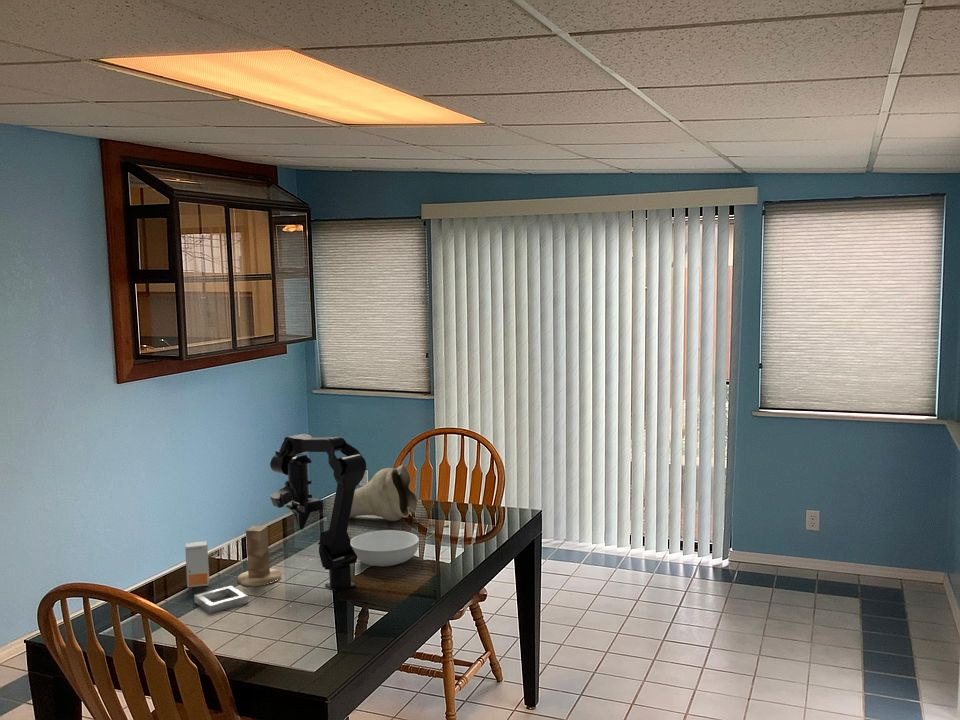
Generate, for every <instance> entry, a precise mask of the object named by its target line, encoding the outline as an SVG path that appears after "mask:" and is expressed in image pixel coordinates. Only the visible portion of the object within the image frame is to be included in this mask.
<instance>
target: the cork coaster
mask: <svg viewBox="0 0 960 720" xmlns="http://www.w3.org/2000/svg"><path fill="white" fill-rule="evenodd" d="M280 576H281V571H280V570H278V569H276V568H270V573H269V574H268V575H267V576H266V577H264V578H249V576H248V570H247V571H244V572H242V573H240V574H239V575H238V577H237V580H238V583H239V584H240V585H242V586H244V587H245V586H246V587H259V586H258V585H262V586H265V585H264V584H267V583H270V582H272V581H275V580H277V579H279V578H280ZM280 579H281V578H280ZM280 579H279V580H280ZM267 585H268V584H267Z"/></svg>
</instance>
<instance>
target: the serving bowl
mask: <svg viewBox="0 0 960 720" xmlns="http://www.w3.org/2000/svg"><path fill="white" fill-rule="evenodd" d="M350 539H351V543H350V545H351V546H352V548H353V550H354V551H355V553H356V555H357V561H359V562H361V563H362V564H365V565H368V566H369V565H370V566H374V567H375V566H376V567H390V566H394V565H399V564H402V563H405V562H407V561H409V560H410V559H411V558H413V557H414V556H415V554H416V553H417V551H418V548H419V543H420V538H419V536H417V534H415V533H412V532H408V531H404V530H394V529H393V530H392V529H386V530H385V529H384V530H383V529H382V530H374V531H368V532H364V533H361V534H358V535H356V536H354V537H352V538H350Z"/></svg>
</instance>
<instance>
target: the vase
mask: <svg viewBox="0 0 960 720" xmlns="http://www.w3.org/2000/svg"><path fill="white" fill-rule="evenodd" d="M411 483H412V479H411V475H410V472H409V471H408V468H407V467H406V466H405V465H404V464H401V465H399V466H398V467H396V468H392V467H385V468H382V469H380V470H378V471H377V472H376V473H375V474H374V475H373V477H372V478H371V480H369V481H368V482H367V483H366V484H364V485H362V486H361V487H357V488H355V492H354V498H353V503H352V508H351V513H350V518H349V519H352V518H355V517H359V516H360V517H361V516H376V517H381V518H382V519H385V520H387V521H389V522H390V521H391V522H396V521H399V520H400V519H402V518H404V519H405V518H408V517H409V515H410V513H413V514H414V513H416V512H417V508H418V498H417V494H416V493H415V492H414V491H413V490H412V489H411V488H410V486H411Z"/></svg>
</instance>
